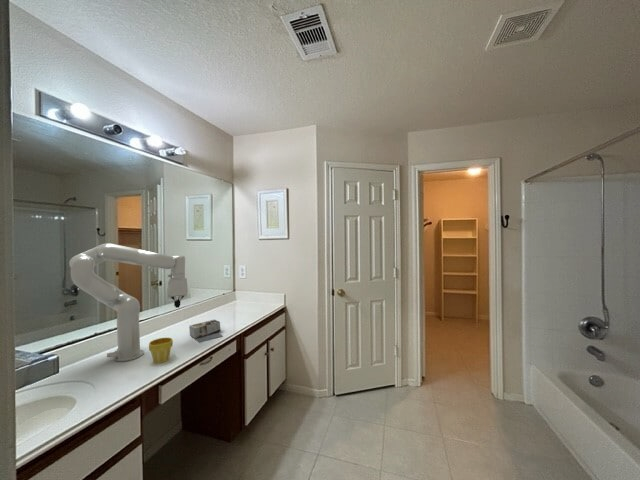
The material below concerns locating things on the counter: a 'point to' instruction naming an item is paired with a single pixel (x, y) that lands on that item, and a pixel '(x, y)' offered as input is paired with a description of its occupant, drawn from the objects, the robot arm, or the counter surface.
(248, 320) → the counter surface
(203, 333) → the coffee box
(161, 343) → the plant pot
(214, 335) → the mat
